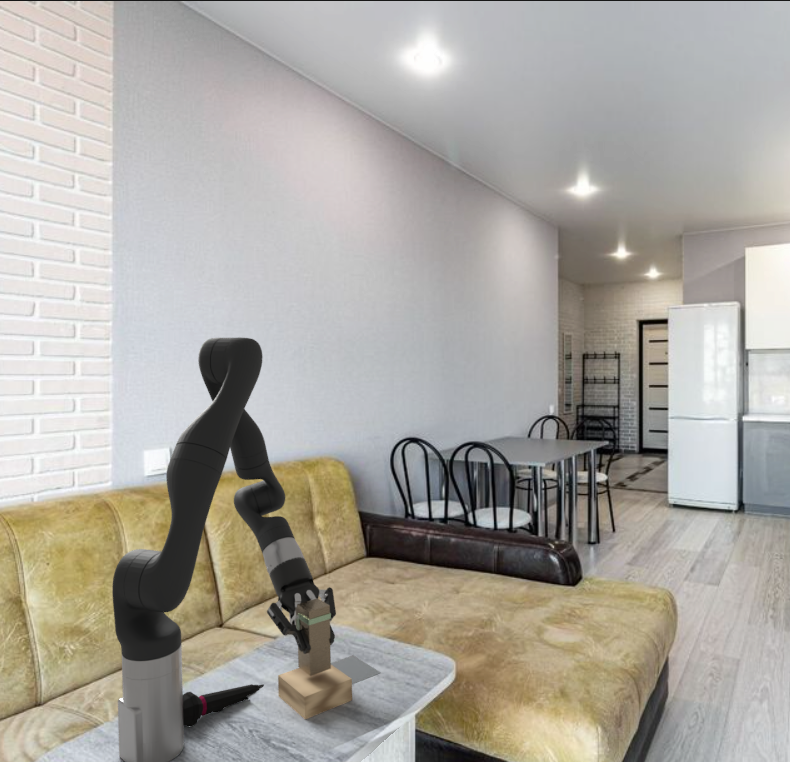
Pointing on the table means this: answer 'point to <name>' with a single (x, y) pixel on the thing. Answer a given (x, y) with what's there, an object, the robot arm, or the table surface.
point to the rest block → (314, 690)
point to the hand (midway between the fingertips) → (319, 647)
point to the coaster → (355, 668)
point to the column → (315, 636)
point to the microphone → (213, 702)
